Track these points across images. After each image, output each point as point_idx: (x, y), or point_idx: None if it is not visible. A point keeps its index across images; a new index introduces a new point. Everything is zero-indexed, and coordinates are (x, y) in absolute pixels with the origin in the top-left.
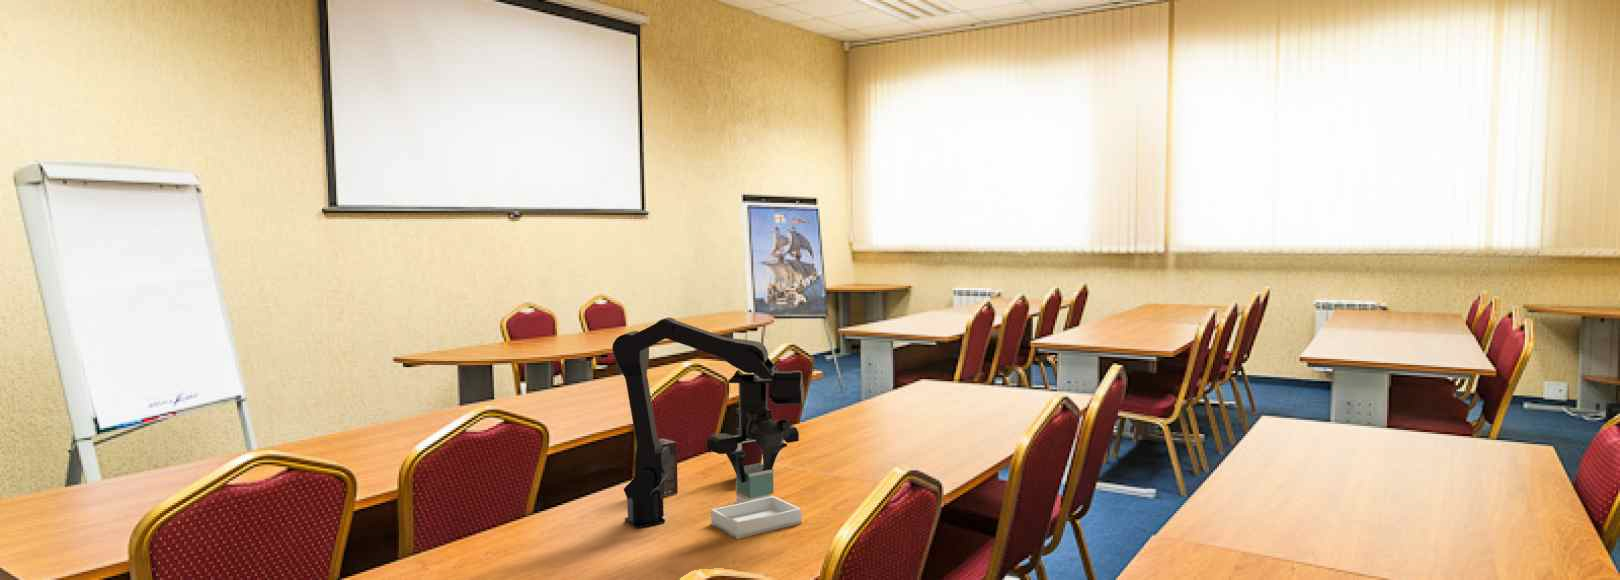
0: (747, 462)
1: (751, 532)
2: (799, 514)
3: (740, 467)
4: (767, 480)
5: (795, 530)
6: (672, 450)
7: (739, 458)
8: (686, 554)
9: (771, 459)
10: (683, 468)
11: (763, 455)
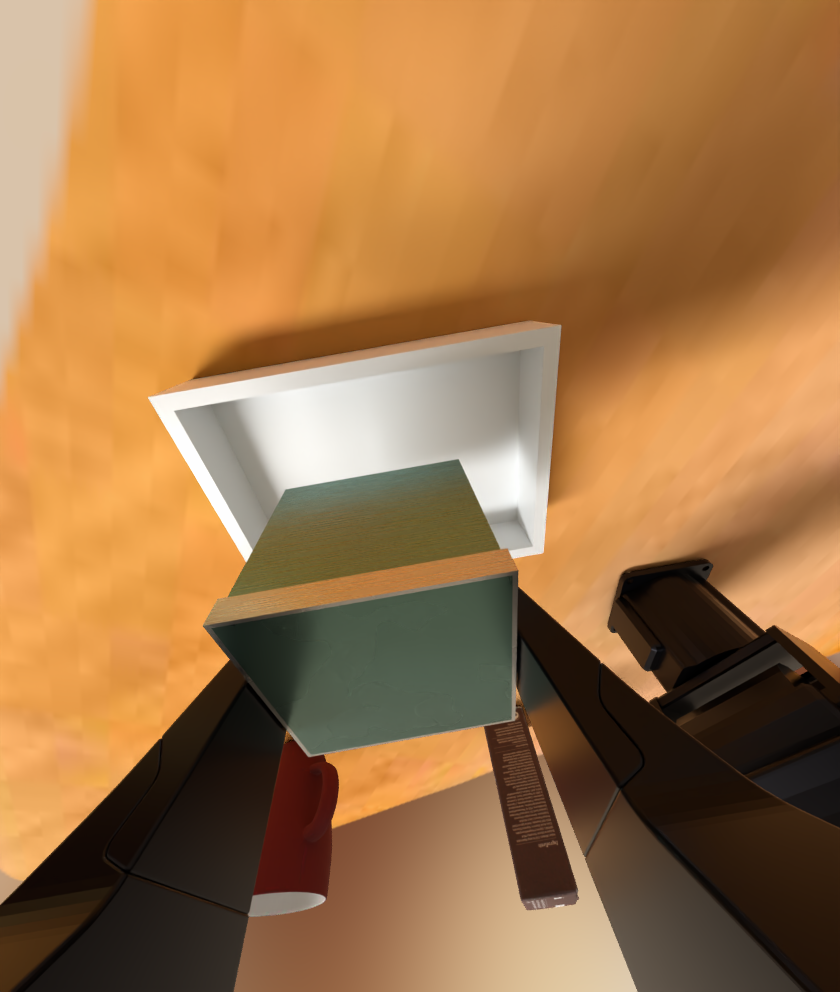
0: (295, 798)
1: (460, 334)
2: (178, 386)
3: (597, 673)
4: (309, 539)
5: (238, 292)
6: (530, 860)
7: (742, 817)
8: (807, 229)
9: (175, 777)
10: (410, 794)
11: (254, 845)
